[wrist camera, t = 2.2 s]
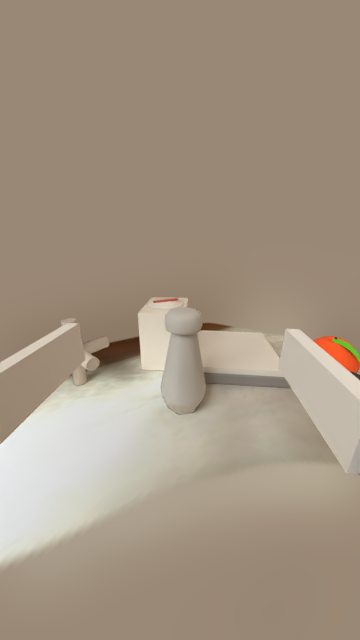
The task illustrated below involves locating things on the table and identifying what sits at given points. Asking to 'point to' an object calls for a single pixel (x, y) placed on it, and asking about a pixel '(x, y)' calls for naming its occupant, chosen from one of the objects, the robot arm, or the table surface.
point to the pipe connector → (87, 356)
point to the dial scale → (211, 349)
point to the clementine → (340, 352)
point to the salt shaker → (183, 361)
